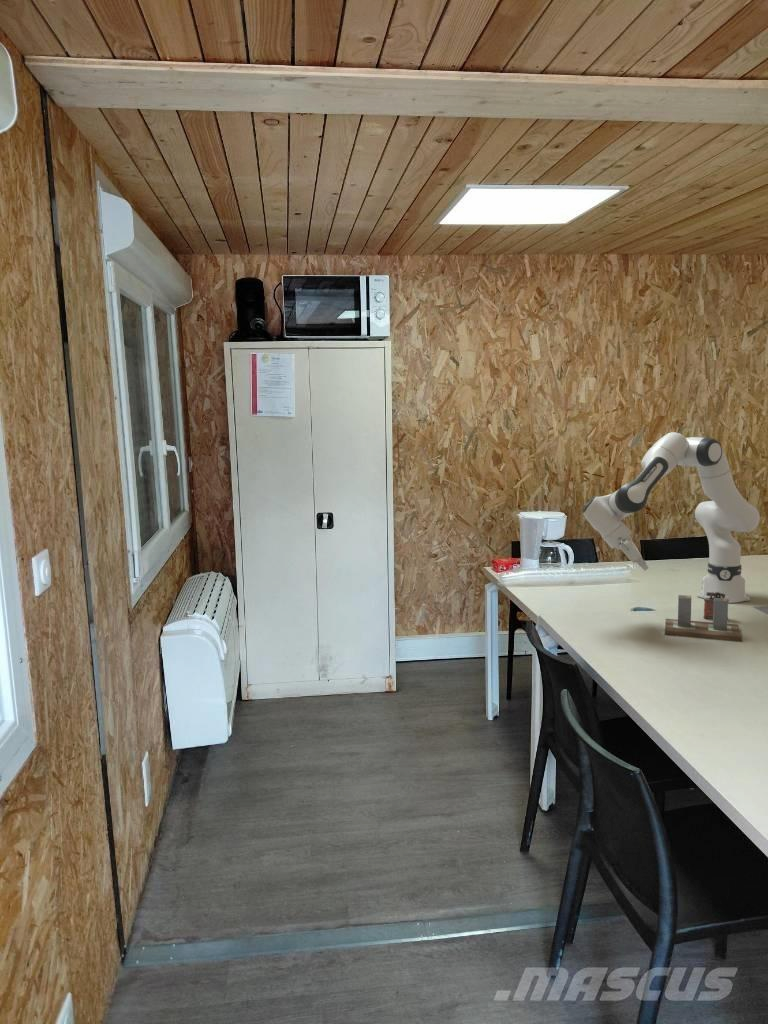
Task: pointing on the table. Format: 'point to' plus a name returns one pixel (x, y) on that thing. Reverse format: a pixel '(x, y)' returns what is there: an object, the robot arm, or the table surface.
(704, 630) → the pallet
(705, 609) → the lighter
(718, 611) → the block
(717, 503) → the robot arm
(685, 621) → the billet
